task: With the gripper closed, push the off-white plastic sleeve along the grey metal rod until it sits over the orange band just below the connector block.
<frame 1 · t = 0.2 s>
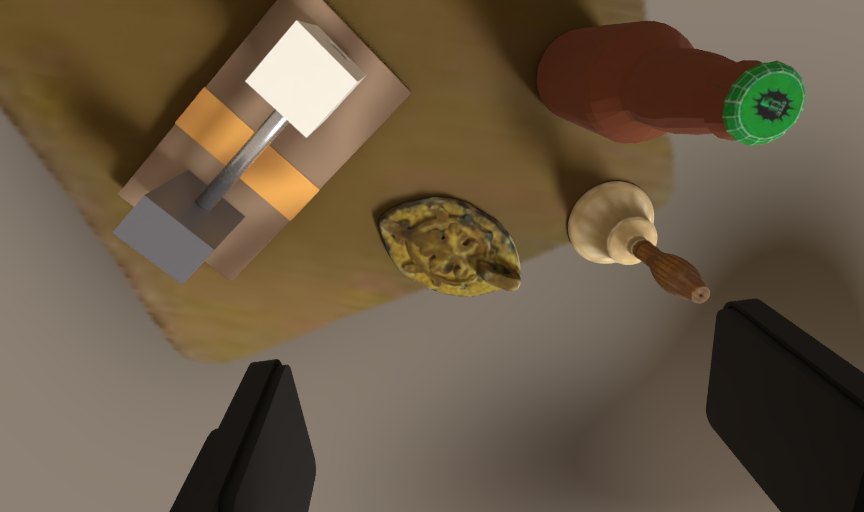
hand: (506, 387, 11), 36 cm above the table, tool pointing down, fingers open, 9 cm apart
hand bell: (609, 222, 49), on the table
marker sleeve: (312, 77, 36), point 7 cm above the table, slide at 0.0 cm
bottle: (575, 74, 44), on the table
seal: (450, 245, 49), on the table
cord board: (265, 141, 44), on the table
connector block: (185, 224, 41), on the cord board, point 6 cm above the table
metal rod: (267, 132, 39), point 4 cm above the table
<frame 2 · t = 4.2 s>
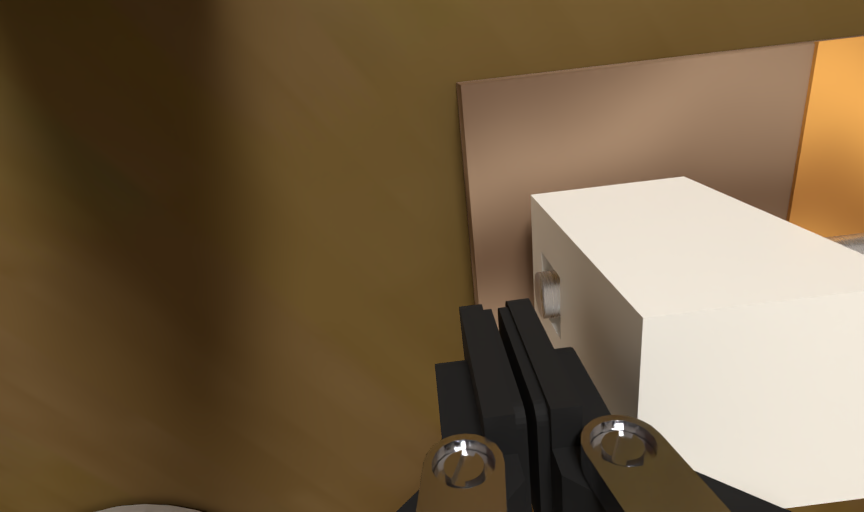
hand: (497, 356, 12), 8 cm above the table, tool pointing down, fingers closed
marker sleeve: (663, 314, 13), point 7 cm above the table, slide at 0.3 cm, touching gripper
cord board: (771, 207, 20), on the table
metal rod: (810, 262, 15), point 4 cm above the table
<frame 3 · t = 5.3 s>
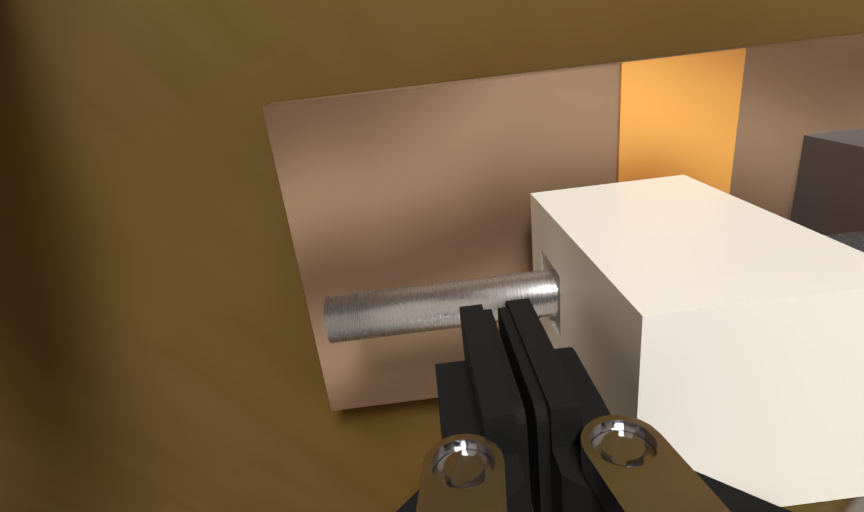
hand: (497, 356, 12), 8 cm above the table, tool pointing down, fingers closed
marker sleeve: (663, 312, 13), point 7 cm above the table, slide at 6.7 cm, touching gripper
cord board: (612, 224, 20), on the table
metal rod: (602, 286, 15), point 4 cm above the table
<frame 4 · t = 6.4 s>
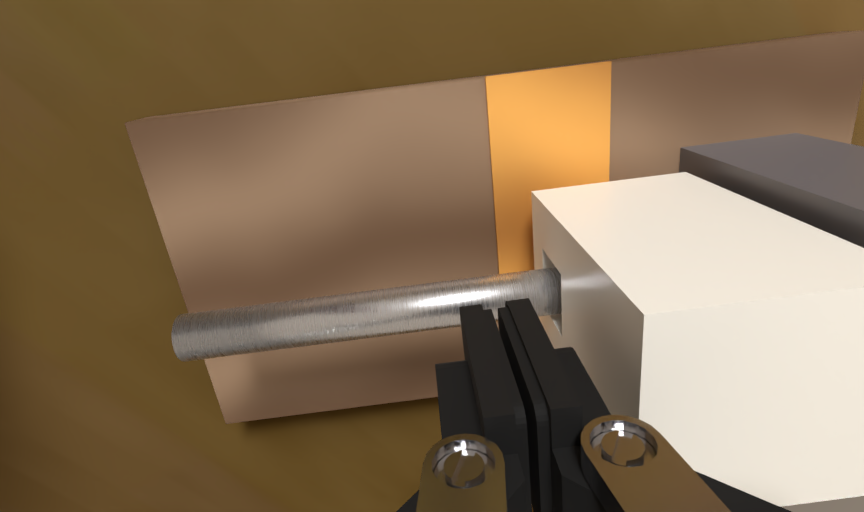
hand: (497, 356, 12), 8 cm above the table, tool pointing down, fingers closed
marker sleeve: (665, 310, 13), point 7 cm above the table, slide at 11.0 cm, touching gripper
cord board: (503, 236, 20), on the table
connector block: (811, 266, 15), on the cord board, point 6 cm above the table
metal rod: (459, 302, 15), point 4 cm above the table
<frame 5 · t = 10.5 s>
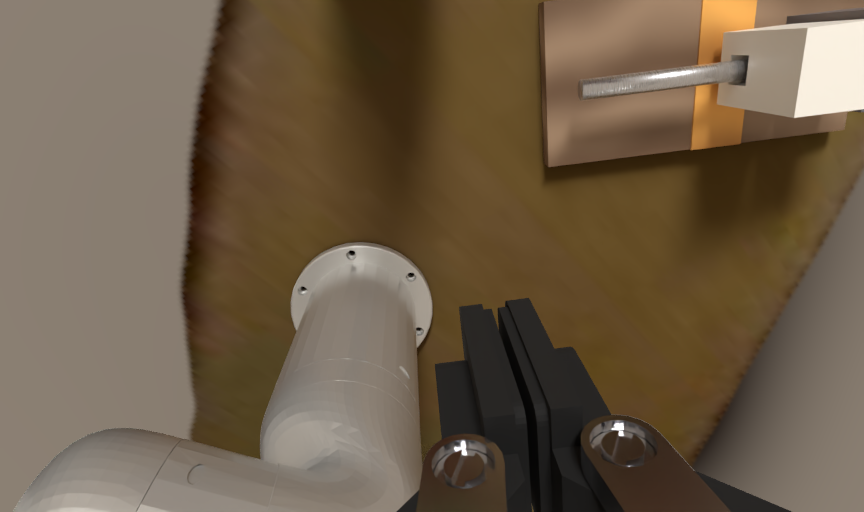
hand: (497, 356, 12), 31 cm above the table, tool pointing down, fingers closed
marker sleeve: (793, 66, 33), point 7 cm above the table, slide at 11.1 cm
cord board: (692, 68, 40), on the table
connector block: (850, 57, 35), on the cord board, point 6 cm above the table
metal rod: (698, 75, 35), point 4 cm above the table
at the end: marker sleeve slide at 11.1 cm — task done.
